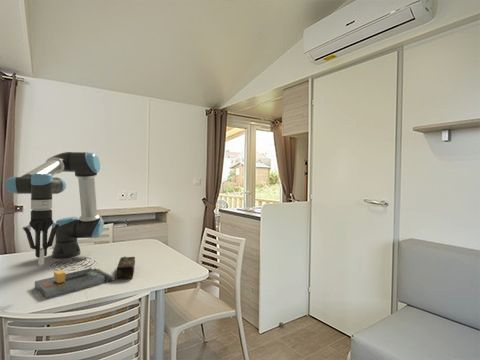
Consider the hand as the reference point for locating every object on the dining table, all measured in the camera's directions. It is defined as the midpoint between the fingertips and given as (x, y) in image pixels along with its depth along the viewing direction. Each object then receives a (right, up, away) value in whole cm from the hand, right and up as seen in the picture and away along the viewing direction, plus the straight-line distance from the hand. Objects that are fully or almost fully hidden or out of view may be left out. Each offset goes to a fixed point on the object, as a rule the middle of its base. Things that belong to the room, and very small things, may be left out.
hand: (41, 263), depth 121 cm
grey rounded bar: (+16, -13, +20) cm, 29 cm away
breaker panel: (+7, -13, +9) cm, 17 cm away
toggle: (+4, -9, +6) cm, 12 cm away
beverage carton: (+26, -13, +27) cm, 39 cm away
